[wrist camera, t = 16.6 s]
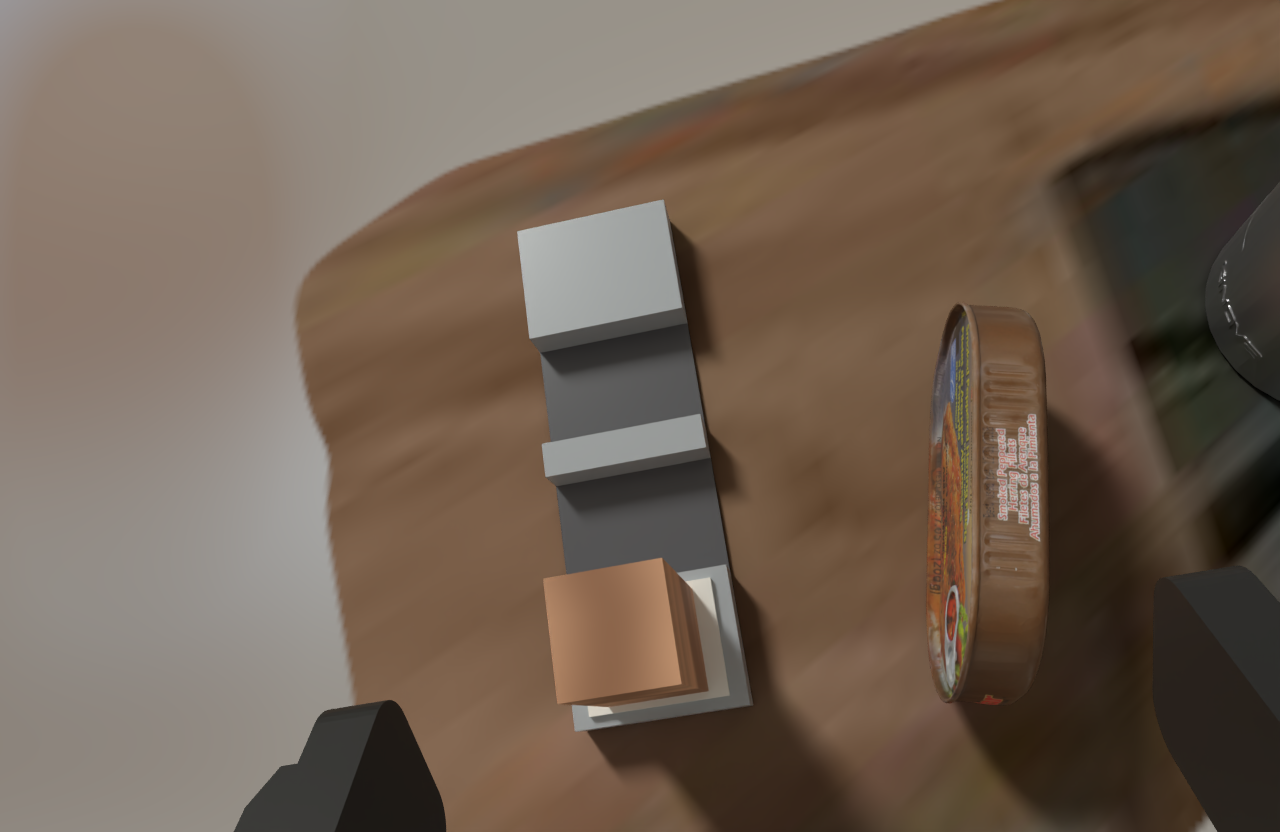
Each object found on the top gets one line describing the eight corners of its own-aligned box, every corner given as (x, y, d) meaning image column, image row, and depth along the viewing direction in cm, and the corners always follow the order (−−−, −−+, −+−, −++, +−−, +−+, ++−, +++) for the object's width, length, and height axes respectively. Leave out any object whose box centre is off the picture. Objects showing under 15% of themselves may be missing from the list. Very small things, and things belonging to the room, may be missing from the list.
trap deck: (669, 220, 47) (662, 196, 45) (753, 705, 40) (749, 704, 38) (529, 250, 48) (515, 228, 46) (586, 731, 41) (573, 731, 38)
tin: (931, 347, 43) (956, 263, 35) (1006, 350, 42) (1049, 265, 34) (923, 703, 39) (950, 699, 31) (1006, 712, 38) (1056, 710, 30)
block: (692, 588, 39) (661, 557, 32) (708, 691, 38) (681, 684, 30) (595, 605, 40) (542, 578, 32) (608, 707, 38) (557, 704, 31)
